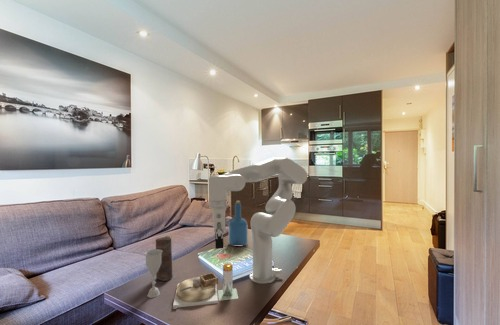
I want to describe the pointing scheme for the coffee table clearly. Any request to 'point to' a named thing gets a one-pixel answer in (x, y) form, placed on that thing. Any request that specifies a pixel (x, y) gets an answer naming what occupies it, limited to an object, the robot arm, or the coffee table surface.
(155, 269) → the chalice
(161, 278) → the candle
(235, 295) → the pad
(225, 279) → the small glass bottle
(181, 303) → the dial base
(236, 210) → the wine bottle
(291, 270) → the coffee table surface
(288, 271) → the coffee table surface
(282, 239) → the coffee table surface
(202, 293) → the dial
